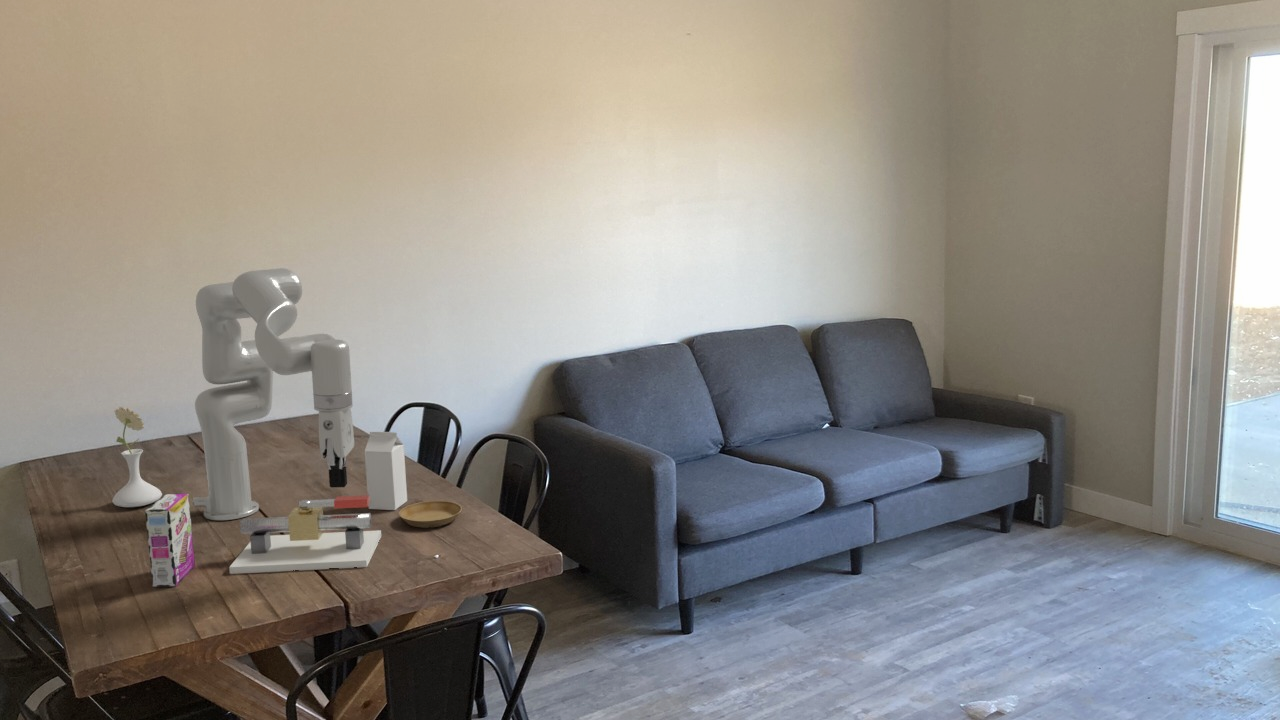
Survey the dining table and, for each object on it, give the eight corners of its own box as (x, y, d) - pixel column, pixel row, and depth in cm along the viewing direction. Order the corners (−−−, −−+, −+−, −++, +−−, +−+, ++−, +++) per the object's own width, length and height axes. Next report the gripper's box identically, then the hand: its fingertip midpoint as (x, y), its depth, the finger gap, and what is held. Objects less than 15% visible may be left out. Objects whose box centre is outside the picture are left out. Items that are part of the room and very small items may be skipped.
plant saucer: (409, 510, 244) (408, 500, 244) (468, 510, 243) (467, 500, 243) (391, 531, 230) (391, 520, 229) (454, 531, 229) (454, 520, 229)
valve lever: (367, 507, 214) (367, 499, 214) (297, 510, 213) (297, 502, 212) (369, 502, 217) (369, 495, 216) (301, 506, 215) (300, 498, 215)
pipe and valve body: (240, 555, 212) (236, 515, 210) (248, 546, 217) (245, 507, 216) (369, 549, 214) (366, 509, 212) (373, 540, 220) (371, 501, 218)
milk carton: (395, 510, 243) (390, 436, 240) (368, 509, 245) (363, 435, 241) (407, 501, 250) (402, 428, 247) (381, 500, 251) (376, 427, 248)
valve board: (229, 573, 206) (229, 567, 206) (255, 542, 224) (254, 536, 223) (366, 567, 208) (366, 560, 208) (381, 536, 226) (380, 530, 226)
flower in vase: (170, 502, 253) (159, 407, 248) (123, 514, 244) (111, 416, 240) (149, 492, 261) (139, 400, 257) (103, 503, 253) (91, 408, 249)
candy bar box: (177, 587, 200) (168, 509, 197) (152, 588, 200) (142, 510, 196) (197, 565, 211) (189, 492, 208) (173, 567, 210) (164, 493, 207)
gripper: (342, 409, 195) (348, 498, 198) (360, 391, 209) (364, 474, 213) (304, 409, 194) (310, 498, 198) (324, 392, 209) (329, 475, 213)
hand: (338, 485), depth 206 cm, fingers closed
